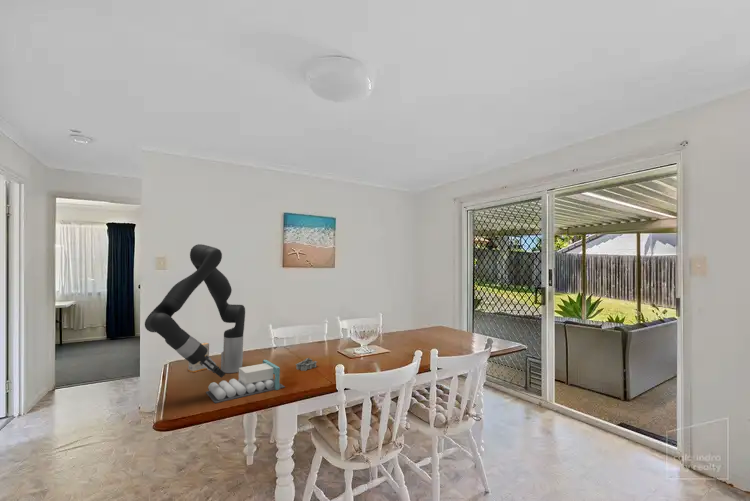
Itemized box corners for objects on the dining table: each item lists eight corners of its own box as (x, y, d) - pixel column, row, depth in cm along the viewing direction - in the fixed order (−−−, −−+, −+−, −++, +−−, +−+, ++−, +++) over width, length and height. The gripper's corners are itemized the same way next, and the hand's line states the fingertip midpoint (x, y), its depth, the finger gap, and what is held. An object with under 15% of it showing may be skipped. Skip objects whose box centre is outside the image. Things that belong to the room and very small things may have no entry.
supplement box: (203, 367, 179) (204, 341, 180) (208, 369, 176) (209, 343, 177) (187, 371, 172) (188, 344, 173) (192, 373, 170) (193, 346, 170)
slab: (245, 384, 144) (245, 373, 144) (238, 378, 151) (238, 367, 151) (273, 378, 151) (273, 368, 151) (265, 373, 158) (265, 363, 158)
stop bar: (275, 390, 149) (276, 368, 149) (262, 380, 161) (262, 360, 161) (279, 389, 150) (279, 367, 150) (265, 379, 162) (266, 359, 162)
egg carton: (309, 364, 188) (309, 357, 188) (318, 367, 183) (319, 359, 184) (293, 368, 180) (293, 361, 180) (303, 371, 175) (303, 363, 175)
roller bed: (214, 403, 134) (215, 392, 134) (205, 392, 144) (206, 382, 145) (284, 387, 152) (285, 378, 152) (272, 379, 163) (272, 370, 163)
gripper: (203, 345, 132) (235, 371, 139) (195, 339, 142) (225, 364, 149) (187, 361, 128) (220, 387, 135) (180, 353, 138) (211, 378, 146)
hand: (223, 375), depth 142 cm, fingers closed
